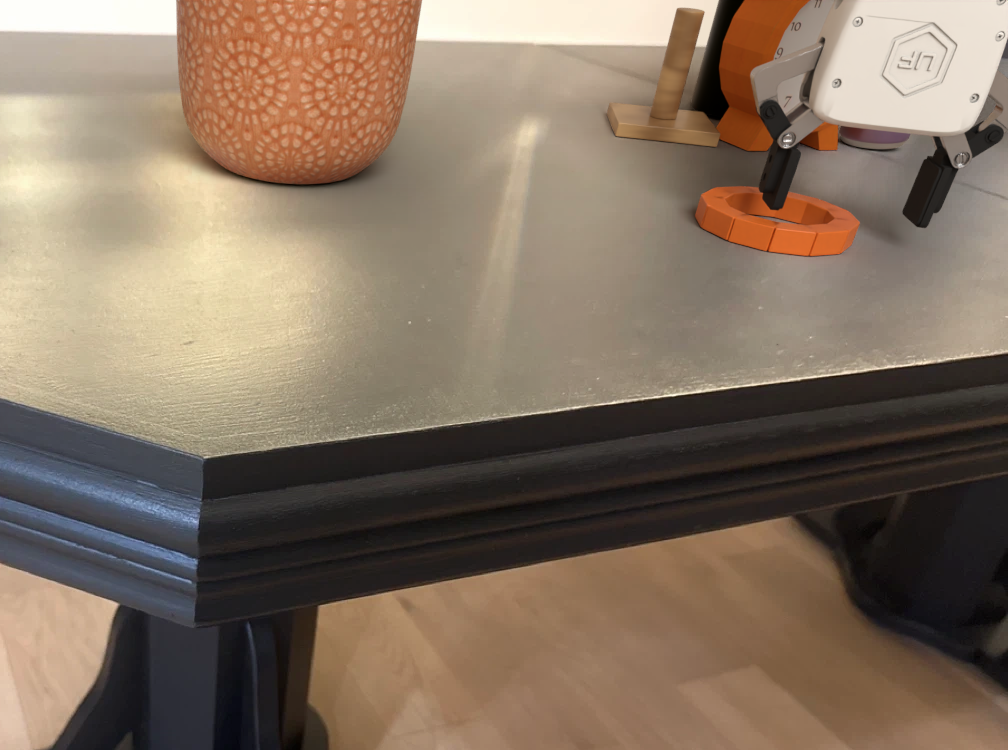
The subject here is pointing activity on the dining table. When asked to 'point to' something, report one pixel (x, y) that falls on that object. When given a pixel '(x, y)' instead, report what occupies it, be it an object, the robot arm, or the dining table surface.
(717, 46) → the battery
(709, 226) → the disc ring
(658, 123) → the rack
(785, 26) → the alarm clock
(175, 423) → the dining table surface
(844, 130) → the beverage can
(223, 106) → the planter
